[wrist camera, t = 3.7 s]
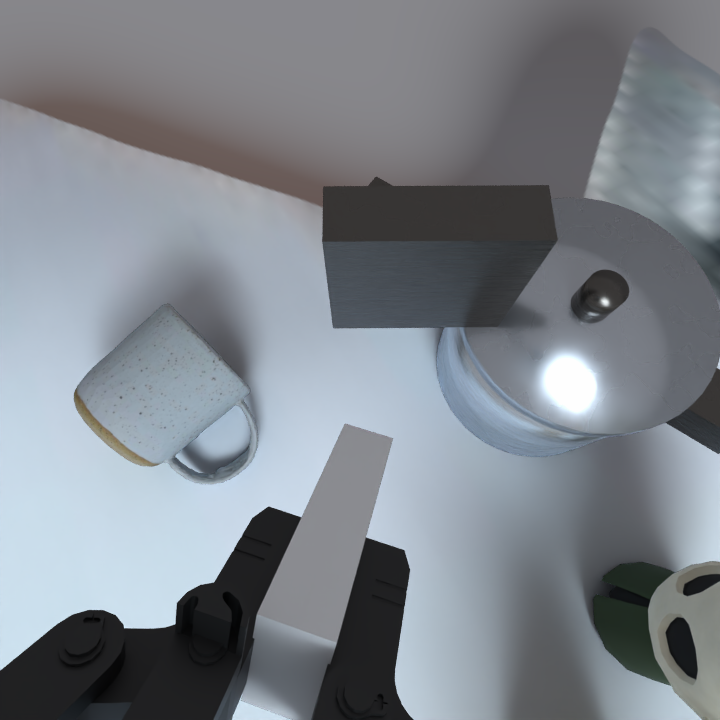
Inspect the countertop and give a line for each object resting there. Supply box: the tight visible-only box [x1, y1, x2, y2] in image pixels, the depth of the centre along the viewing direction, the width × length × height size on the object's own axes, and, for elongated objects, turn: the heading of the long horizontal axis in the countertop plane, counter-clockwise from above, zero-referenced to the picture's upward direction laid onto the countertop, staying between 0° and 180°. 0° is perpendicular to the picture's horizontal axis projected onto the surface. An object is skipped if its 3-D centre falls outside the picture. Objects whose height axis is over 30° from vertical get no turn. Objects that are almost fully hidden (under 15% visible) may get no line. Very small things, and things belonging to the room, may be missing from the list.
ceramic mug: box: [74, 304, 258, 484], centre depth 30 cm, size 11×8×8 cm
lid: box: [322, 185, 720, 438], centre depth 22 cm, size 20×14×9 cm
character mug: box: [593, 561, 720, 720], centre depth 24 cm, size 11×7×13 cm, turn 147°
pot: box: [369, 177, 720, 457], centre depth 31 cm, size 25×13×9 cm, turn 58°
